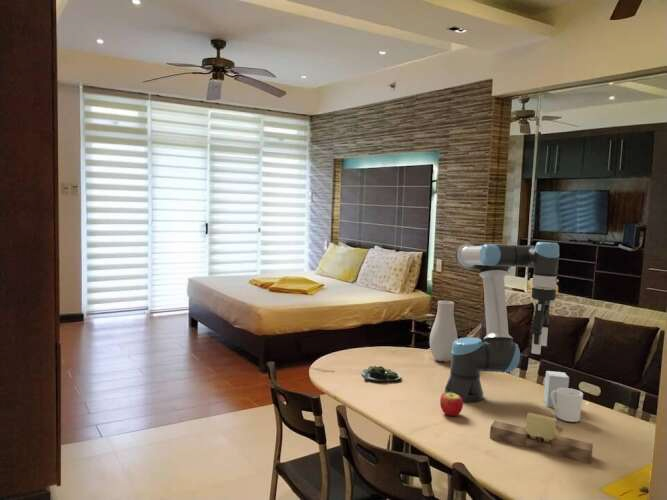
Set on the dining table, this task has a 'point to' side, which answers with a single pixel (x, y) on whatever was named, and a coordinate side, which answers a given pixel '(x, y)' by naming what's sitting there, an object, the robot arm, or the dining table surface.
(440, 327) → the vase
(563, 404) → the mug
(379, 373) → the salad plate
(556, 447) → the rail
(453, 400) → the apple
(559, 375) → the supplement box
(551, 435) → the beige block
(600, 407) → the dining table surface
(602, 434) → the dining table surface
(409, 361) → the dining table surface
